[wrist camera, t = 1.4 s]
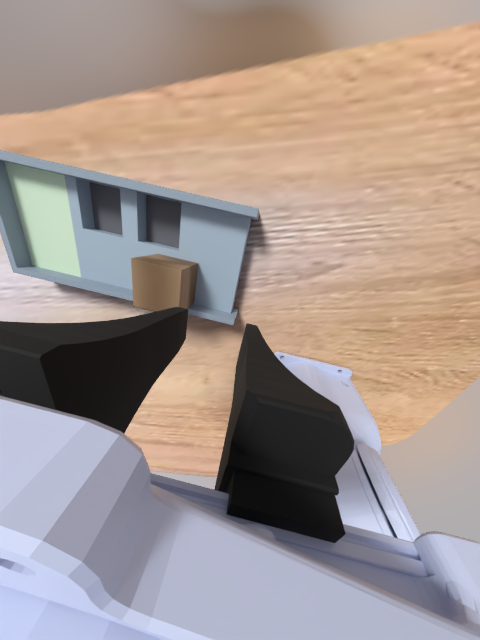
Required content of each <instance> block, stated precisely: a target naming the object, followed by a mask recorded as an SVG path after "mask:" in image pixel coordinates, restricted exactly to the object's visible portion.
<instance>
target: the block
mask: <svg viewBox="0 0 480 640" xmlns="http://www.w3.org/2000/svg"><path fill="white" fill-rule="evenodd" d="M131 267H132V289H133V306H136V307H140V308H144V309H148V310H152V311H156V312H157V311H161V310H165V309H169V308H173V307H181V308H185V309H187V308H188V307H189V306H190V305H192V304H193V303H194V301H195V291H196V282H197V272H198V263H195V262H191V261H187V260H183V259H178V258H174V257H170V256H166V255H161V254H154V255H147V256H141V257H135V258H131Z"/></svg>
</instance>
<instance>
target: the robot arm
mask: <svg viewBox="0 0 480 640" xmlns="http://www.w3.org/2000/svg"><path fill="white" fill-rule="evenodd" d="M187 318H188V309H185V308H181V307H173V308H169V309H165V310H161V311H157V312H153V313H149V314H144V315H139V316H135V317H130V318H124V319H117V320H109V321H98V322H84V323H24V322H3V321H0V640H480V543H479V542H476V541H473V540H469V539H465V538H461V537H458V536H454V535H450V534H446V533H442V532H426V533H424V534H421V533H420V531H419V530H418V528H417V526H416V524H415V522H414V520H413V518H412V516H411V514H410V512H409V510H408V509H407V507H406V505H405V503H404V501H403V499H402V497H401V495H400V494H399V492H398V490H397V488H396V486H395V484H394V482H393V480H392V478H391V476H390V475H389V473H388V471H387V469H386V467H385V465H384V463H383V461H382V459H381V458H380V453H381V439H380V434H379V430H378V426H377V424H376V421H375V420H374V418H373V416H372V414H371V413H370V411H369V409H368V408H367V406H366V404H365V403H364V401H363V399H362V398H361V396H360V394H359V393H358V391H357V389H356V388H355V386H354V384H353V383H352V381H351V379H350V377H351V376H352V374H353V372H352V371H351V369H349V368H344V367H340V366H336V365H332V364H328V363H324V362H320V361H316V360H312V359H307V358H303V357H299V356H295V355H291V354H287V353H283V352H275V353H273V352H272V351H271V349H270V348H269V347H268V345H267V343H266V342H265V340H264V338H263V337H262V335H261V333H260V331H259V329H258V327H257V326H256V325H252V324H246V328H245V332H244V336H243V340H242V344H241V348H240V352H239V356H238V361H237V365H236V374H235V384H234V393H233V402H232V408H231V413H230V418H229V423H228V428H227V433H226V437H225V442H224V447H223V452H222V457H221V461H220V466H219V471H218V476H217V481H216V486H215V490H213V489H209V488H205V487H201V486H197V485H193V484H190V483H186V482H182V481H178V480H175V479H171V478H167V477H163V476H159V475H156V474H152V473H150V469H149V466H148V463H147V461H146V459H145V456H144V454H143V452H142V449H141V448H140V447H139V446H138V445H136V444H135V443H134V442H133V441H132V440H131V439H129V438H128V437H127V436H126V435H125V434H124V433H125V431H126V429H127V427H128V425H129V424H130V422H131V420H132V418H133V417H134V415H135V413H136V412H137V410H138V408H139V406H140V405H141V403H142V401H143V400H144V398H145V397H146V395H147V393H148V392H149V390H150V389H151V387H152V386H153V384H154V383H155V381H156V380H157V379H158V377H159V376H160V375H161V373H162V372H163V371H164V370H165V368H166V367H167V366H168V365H169V363H170V362H171V361H172V359H173V358H174V357H175V355H176V354H177V353H178V351H179V350H180V348H181V346H182V345H183V343H184V341H185V339H186V329H187ZM281 356H284V357H281ZM338 370H340V371H338Z"/></svg>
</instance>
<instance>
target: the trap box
mask: <svg viewBox="0 0 480 640" xmlns="http://www.w3.org/2000/svg"><path fill="white" fill-rule="evenodd" d="M258 218H259V209H257V208H253V207H249V206H244V205H240V204H235V203H231V202H227V201H222V200H218V199H213V198H209V197H205V196H200V195H196V194H191V193H187V192H182V191H178V190H174V189H169V188H165V187H160V186H156V185H152V184H147V183H143V182H138V181H134V180H130V179H125V178H121V177H116V176H112V175H107V174H103V173H99V172H94V171H90V170H85V169H81V168H77V167H72V166H68V165H63V164H59V163H55V162H50V161H46V160H41V159H37V158H32V157H28V156H24V155H19V154H15V153H10V152H6V151H2V150H0V233H1V236H2V239H3V242H4V245H5V248H6V251H7V255H8V258H9V261H10V264H11V267H12V270H13V272H15V273H19V274H23V275H27V276H31V277H35V278H39V279H44V280H48V281H52V282H56V283H60V284H64V285H68V286H72V287H77V288H81V289H85V290H89V291H93V292H97V293H101V294H106V295H110V296H114V297H118V298H122V299H126V300H130V301H133V289H132V267H131V258H135V257H141V256H147V255H154V254H161V255H166V256H170V257H174V258H178V259H183V260H187V261H191V262H195V263H198V272H197V282H196V291H195V301H194V303H193V304H192V305H190V306H189V307H188V308H187V309H188V315H192V316H196V317H201V318H205V319H209V320H213V321H217V322H221V323H225V324H230V325H234V322H235V319H236V316H237V313H238V309H235V308H233V307H234V302H235V297H236V292H237V287H238V282H239V277H240V273H241V268H242V263H243V258H244V253H245V248H246V243H247V239H248V234H249V229H250V224H251V219H253V220H257V221H258Z"/></svg>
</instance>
